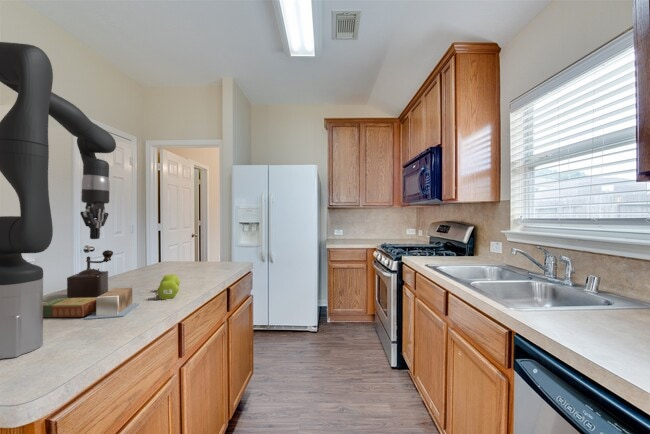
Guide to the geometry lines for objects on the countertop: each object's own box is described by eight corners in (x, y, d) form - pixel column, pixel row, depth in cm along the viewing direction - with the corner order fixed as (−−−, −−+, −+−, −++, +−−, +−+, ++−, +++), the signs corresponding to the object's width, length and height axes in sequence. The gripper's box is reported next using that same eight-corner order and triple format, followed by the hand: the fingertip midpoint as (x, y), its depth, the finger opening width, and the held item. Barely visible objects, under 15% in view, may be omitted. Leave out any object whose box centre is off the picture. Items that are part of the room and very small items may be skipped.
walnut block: (132, 303, 104) (117, 314, 93) (113, 304, 103) (96, 315, 91) (132, 287, 104) (117, 296, 93) (113, 288, 103) (96, 297, 91)
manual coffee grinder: (100, 299, 110) (101, 254, 110) (65, 301, 107) (66, 255, 106) (114, 289, 125) (115, 249, 125) (84, 291, 121) (84, 250, 121)
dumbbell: (178, 299, 112) (178, 281, 112) (155, 301, 108) (155, 283, 108) (180, 289, 127) (180, 273, 127) (160, 290, 123) (160, 274, 123)
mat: (123, 316, 91) (123, 315, 91) (83, 319, 89) (83, 318, 89) (138, 304, 104) (138, 303, 104) (104, 306, 101) (104, 305, 101)
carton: (82, 317, 90) (82, 304, 89) (34, 317, 90) (34, 304, 90) (103, 308, 98) (103, 296, 98) (59, 308, 98) (59, 296, 98)
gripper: (97, 187, 91) (96, 240, 91) (117, 191, 104) (116, 237, 104) (70, 186, 89) (69, 240, 89) (94, 191, 102) (93, 238, 102)
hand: (94, 238), depth 96 cm, fingers closed
